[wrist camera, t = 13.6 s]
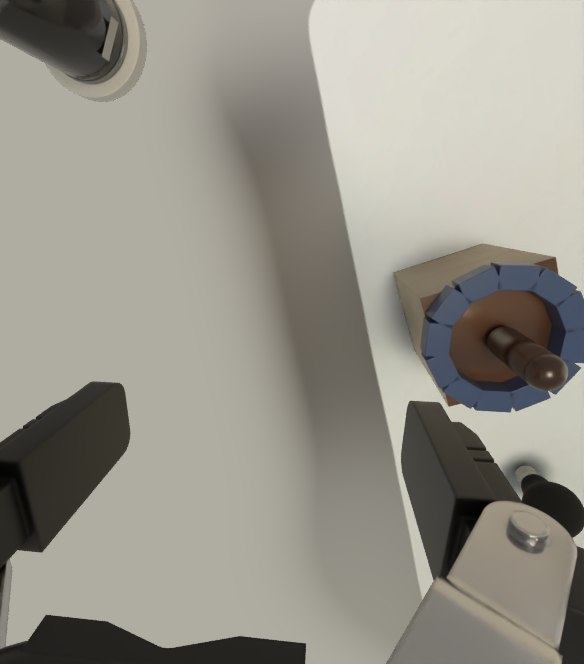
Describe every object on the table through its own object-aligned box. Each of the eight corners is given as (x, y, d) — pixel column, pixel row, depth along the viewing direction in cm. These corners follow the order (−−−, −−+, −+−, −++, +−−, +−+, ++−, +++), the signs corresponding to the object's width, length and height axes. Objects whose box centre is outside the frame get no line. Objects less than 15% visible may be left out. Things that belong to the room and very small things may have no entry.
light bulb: (511, 494, 50) (553, 560, 40) (489, 463, 48) (527, 523, 39) (554, 474, 48) (609, 538, 39) (532, 441, 47) (583, 499, 37)
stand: (393, 272, 43) (450, 327, 22) (483, 243, 41) (641, 272, 20) (414, 350, 45) (484, 466, 24) (500, 326, 43) (657, 430, 22)
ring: (397, 306, 30) (401, 312, 28) (545, 233, 27) (559, 234, 25) (454, 421, 32) (461, 432, 30) (596, 365, 29) (612, 374, 28)
